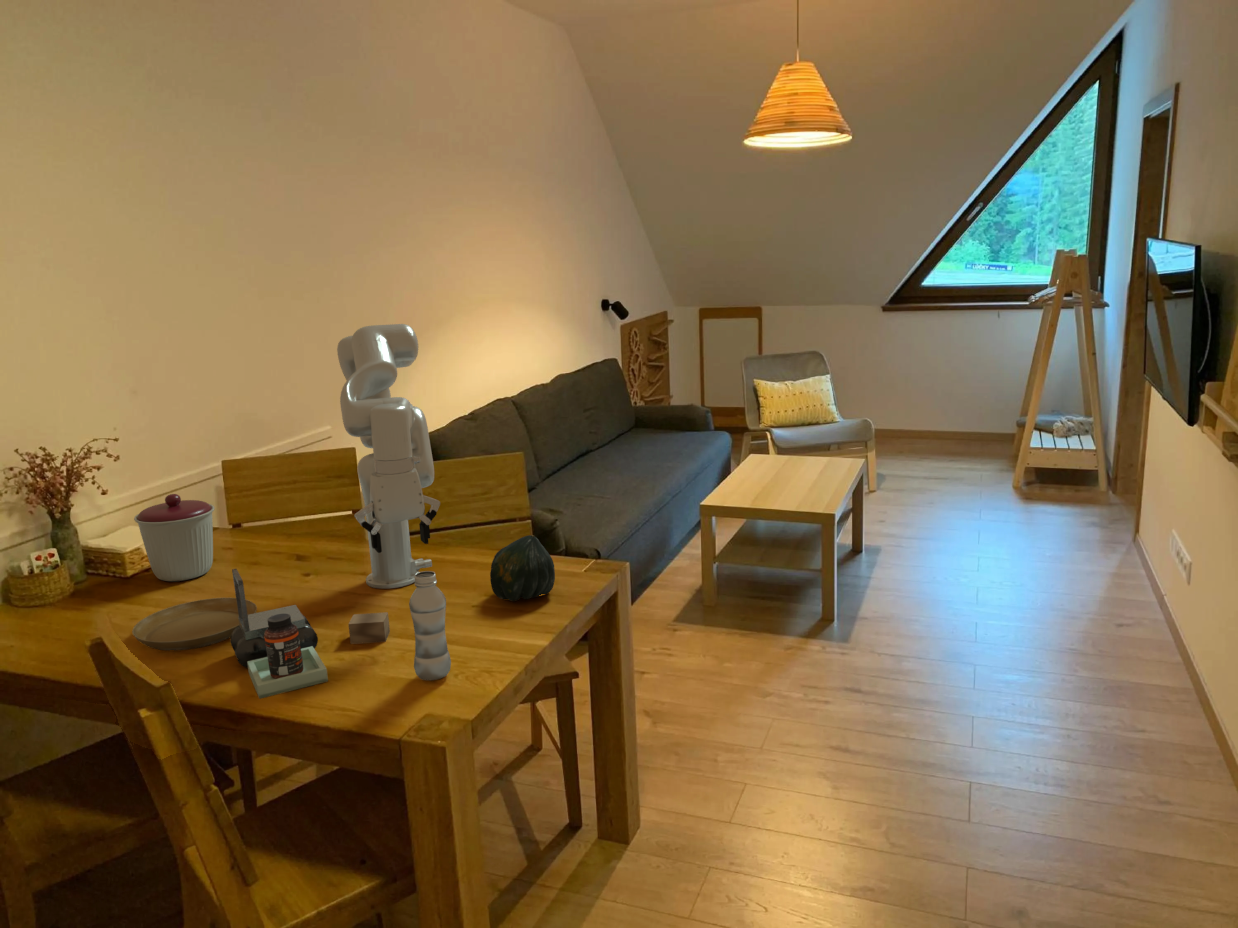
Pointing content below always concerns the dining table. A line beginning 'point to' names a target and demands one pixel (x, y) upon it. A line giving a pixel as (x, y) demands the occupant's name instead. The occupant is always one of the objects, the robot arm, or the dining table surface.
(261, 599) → the dining table surface
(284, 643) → the supplement bottle
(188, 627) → the plant saucer
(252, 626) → the trolley
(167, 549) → the canister
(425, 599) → the plastic bottle
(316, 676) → the tray
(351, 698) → the dining table surface
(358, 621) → the block
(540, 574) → the squash
